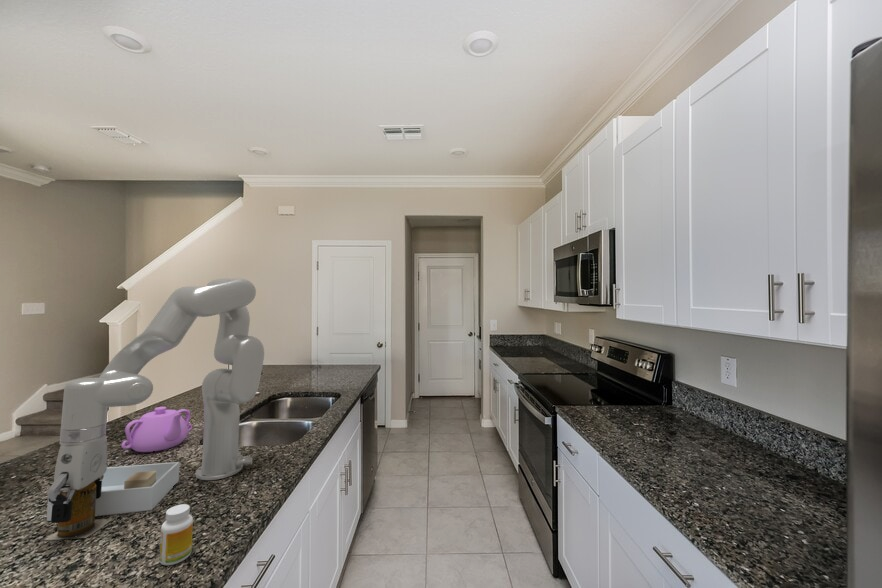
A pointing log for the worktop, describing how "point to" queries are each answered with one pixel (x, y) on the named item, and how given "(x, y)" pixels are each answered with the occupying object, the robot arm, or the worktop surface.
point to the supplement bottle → (176, 535)
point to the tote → (132, 489)
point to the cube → (140, 480)
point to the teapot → (157, 430)
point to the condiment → (80, 516)
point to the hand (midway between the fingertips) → (77, 509)
